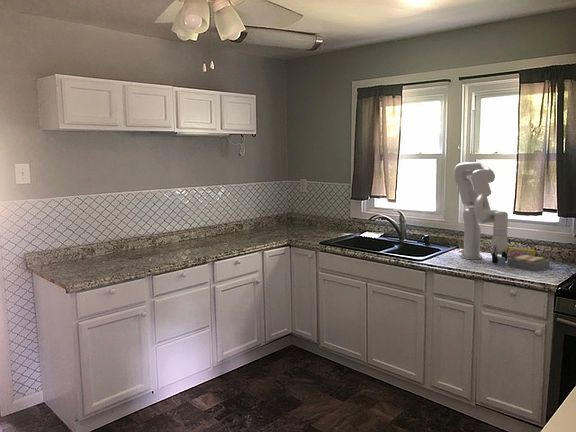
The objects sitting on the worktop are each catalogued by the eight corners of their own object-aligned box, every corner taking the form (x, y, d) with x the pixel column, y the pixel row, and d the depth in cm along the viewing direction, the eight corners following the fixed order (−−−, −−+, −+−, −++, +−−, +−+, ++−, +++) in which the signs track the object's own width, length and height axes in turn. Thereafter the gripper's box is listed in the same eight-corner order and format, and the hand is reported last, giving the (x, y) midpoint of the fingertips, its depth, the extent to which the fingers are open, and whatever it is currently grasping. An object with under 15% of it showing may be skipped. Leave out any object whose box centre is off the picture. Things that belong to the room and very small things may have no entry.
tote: (507, 267, 283) (507, 259, 282) (522, 263, 292) (522, 255, 291) (534, 272, 270) (535, 264, 269) (549, 268, 279) (550, 259, 278)
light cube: (492, 265, 289) (492, 257, 288) (497, 264, 292) (497, 255, 291) (500, 267, 285) (500, 258, 284) (504, 265, 288) (505, 257, 287)
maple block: (512, 265, 282) (512, 257, 281) (523, 262, 289) (524, 254, 288) (533, 269, 272) (533, 261, 272) (544, 266, 279) (544, 258, 279)
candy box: (504, 260, 302) (505, 246, 301) (506, 259, 303) (506, 246, 302) (533, 264, 291) (534, 250, 290) (534, 263, 292) (535, 249, 291)
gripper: (502, 230, 293) (501, 259, 295) (485, 233, 283) (485, 263, 285) (514, 232, 287) (513, 261, 289) (497, 235, 277) (497, 265, 279)
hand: (499, 262), depth 287 cm, fingers open, 9 cm apart
